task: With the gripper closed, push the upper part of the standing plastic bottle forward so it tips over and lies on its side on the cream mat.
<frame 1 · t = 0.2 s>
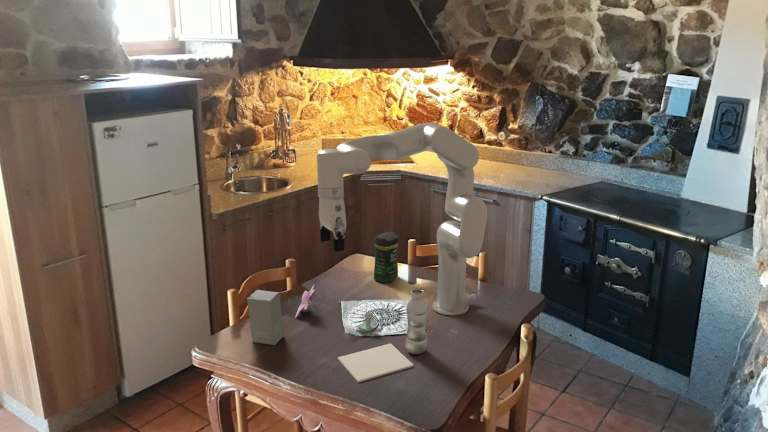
hand: (332, 245, 186), 31 cm above the table, tool pointing down, fingers open, 9 cm apart
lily: (306, 313, 212), on the table
coffee jar: (386, 279, 240), on the table
pacifier: (366, 329, 201), on the table
plastic bottle: (415, 352, 187), on the table
mat: (375, 362, 181), on the table
skincare box: (267, 340, 194), on the table
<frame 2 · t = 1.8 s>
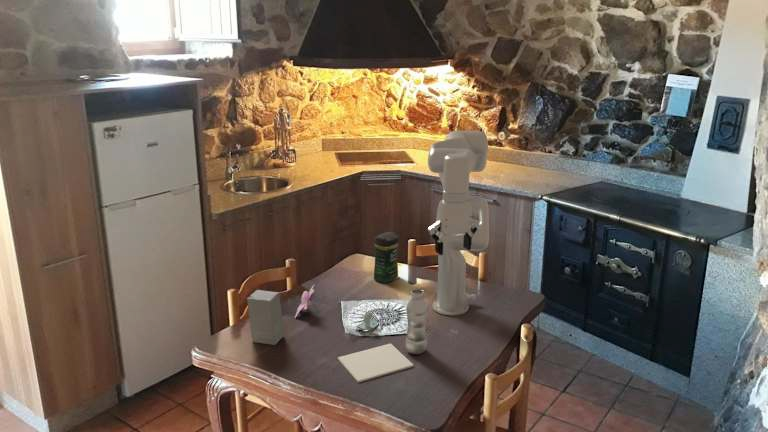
hand: (453, 251, 184), 30 cm above the table, tool pointing down, fingers open, 9 cm apart
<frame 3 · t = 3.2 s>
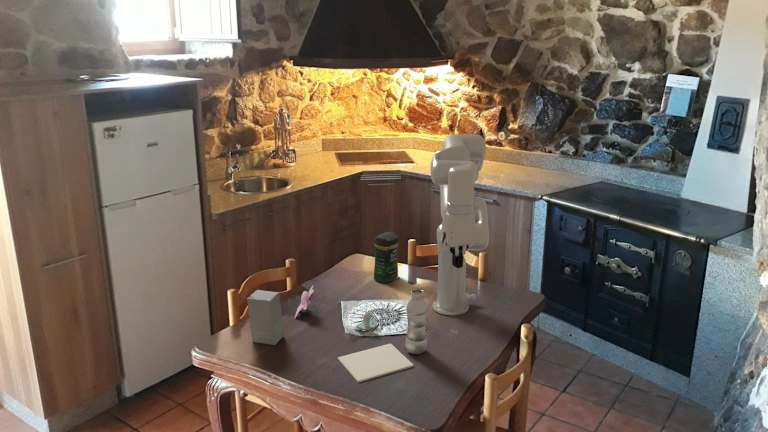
hand: (457, 266, 185), 26 cm above the table, tool pointing down, fingers closed
nothing on the table moved.
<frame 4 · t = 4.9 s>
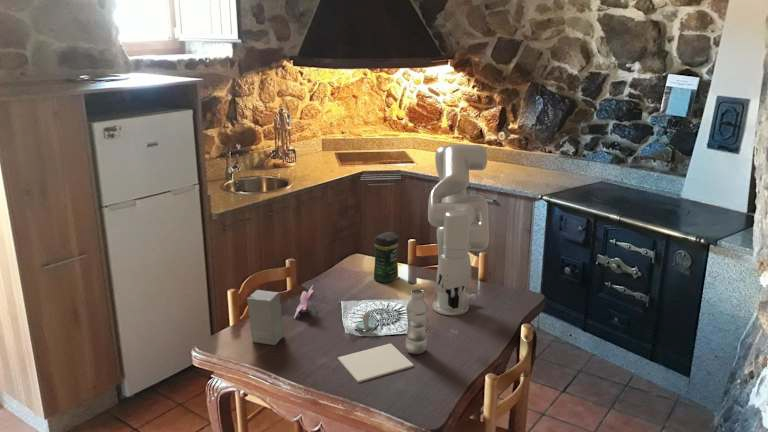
hand: (453, 306, 189), 12 cm above the table, tool pointing down, fingers closed
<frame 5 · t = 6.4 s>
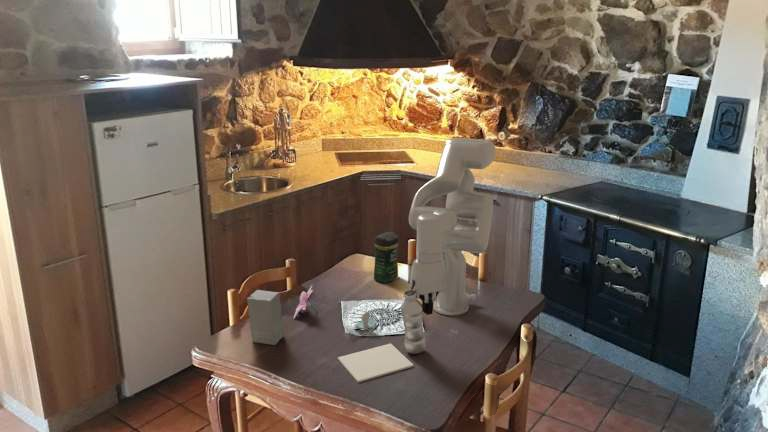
hand: (427, 312, 185), 12 cm above the table, tool pointing down, fingers closed
plastic bottle: (416, 351, 187), on the table, touching gripper
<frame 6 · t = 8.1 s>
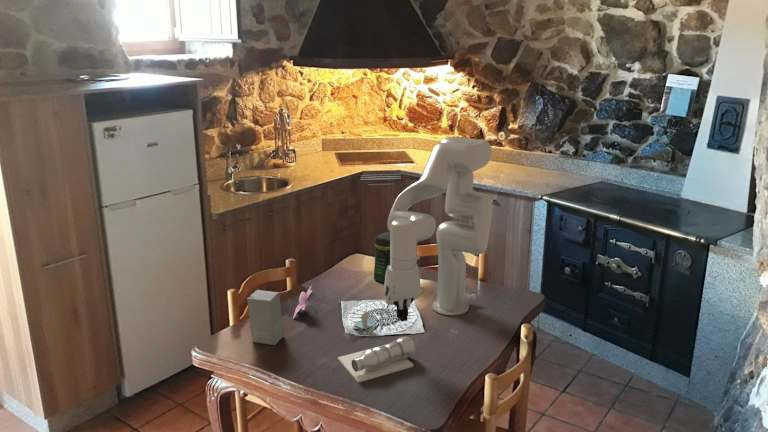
hand: (402, 319, 181), 12 cm above the table, tool pointing down, fingers closed
plastic bottle: (412, 344, 183), point 4 cm above the table, touching mat
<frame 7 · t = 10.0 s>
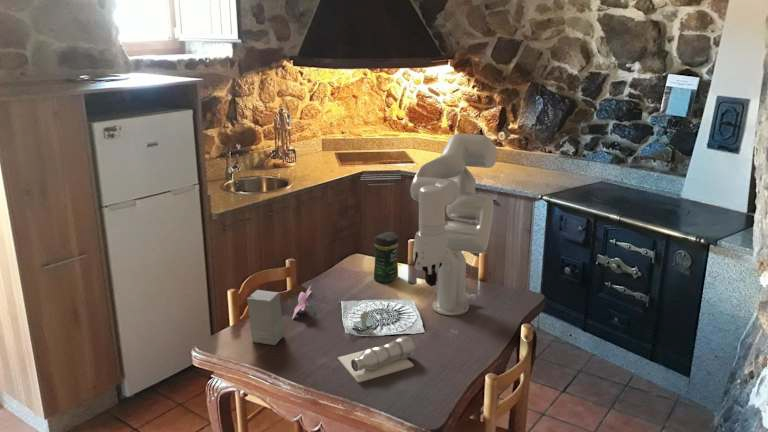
hand: (430, 284, 185), 21 cm above the table, tool pointing down, fingers closed
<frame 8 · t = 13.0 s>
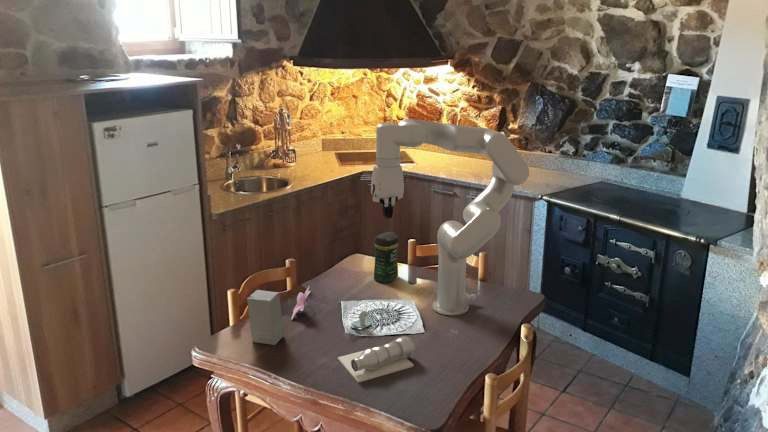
hand: (387, 217, 200), 35 cm above the table, tool pointing down, fingers closed
at the end: plastic bottle tilted 91°; plastic bottle touching mat; plastic bottle inside the target area (3.8 cm from its centre), point 3.7 cm above the table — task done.
